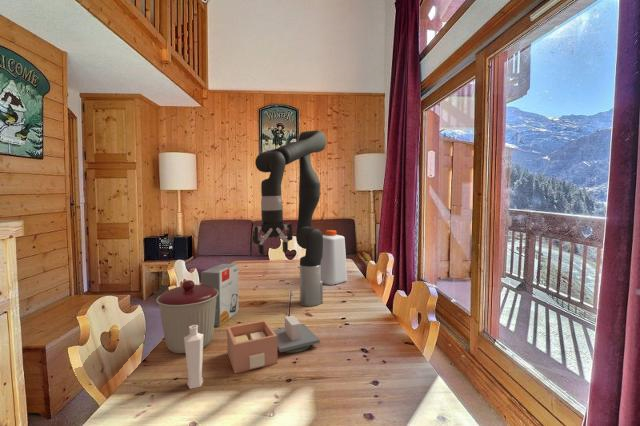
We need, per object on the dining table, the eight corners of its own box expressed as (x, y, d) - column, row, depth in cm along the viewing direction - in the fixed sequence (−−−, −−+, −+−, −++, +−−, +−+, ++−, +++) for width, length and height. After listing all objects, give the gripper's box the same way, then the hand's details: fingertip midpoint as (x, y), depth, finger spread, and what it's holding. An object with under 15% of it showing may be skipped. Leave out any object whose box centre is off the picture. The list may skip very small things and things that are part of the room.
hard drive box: (219, 327, 111) (218, 273, 109) (200, 325, 112) (199, 272, 111) (239, 311, 126) (238, 263, 125) (222, 309, 127) (221, 262, 126)
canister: (191, 365, 86) (189, 292, 85) (144, 354, 92) (141, 285, 91) (231, 337, 103) (229, 275, 102) (189, 329, 109) (187, 271, 108)
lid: (303, 329, 108) (303, 309, 107) (319, 345, 96) (319, 324, 95) (267, 336, 102) (267, 316, 102) (280, 355, 90) (279, 332, 90)
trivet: (302, 331, 107) (302, 330, 107) (317, 347, 96) (317, 345, 96) (269, 339, 102) (269, 337, 102) (280, 356, 91) (280, 354, 91)
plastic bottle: (311, 280, 170) (311, 230, 168) (331, 275, 180) (331, 228, 178) (331, 286, 159) (331, 233, 157) (350, 281, 169) (350, 230, 167)
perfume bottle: (188, 378, 80) (186, 323, 79) (206, 378, 80) (204, 322, 79) (182, 390, 75) (180, 331, 74) (200, 389, 76) (198, 330, 75)
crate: (266, 344, 98) (265, 320, 98) (278, 364, 87) (278, 337, 86) (227, 352, 93) (226, 327, 92) (235, 375, 81) (234, 346, 81)
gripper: (286, 207, 115) (288, 249, 117) (249, 209, 109) (251, 254, 110) (294, 208, 109) (295, 253, 110) (255, 210, 102) (256, 258, 103)
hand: (273, 253), depth 110 cm, fingers open, 8 cm apart
